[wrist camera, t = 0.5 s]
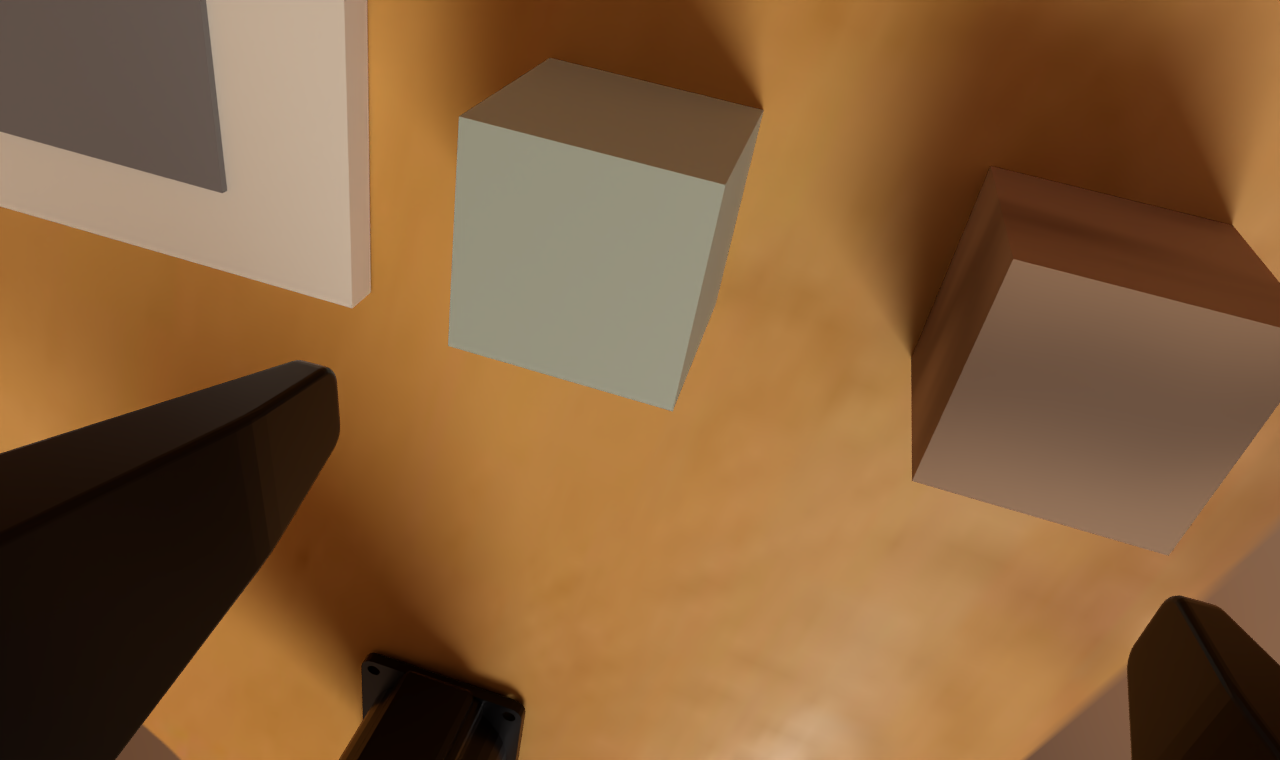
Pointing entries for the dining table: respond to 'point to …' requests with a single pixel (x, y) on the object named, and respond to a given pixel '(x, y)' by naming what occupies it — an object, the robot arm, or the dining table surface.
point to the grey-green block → (595, 226)
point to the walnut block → (1093, 360)
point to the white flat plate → (196, 131)
